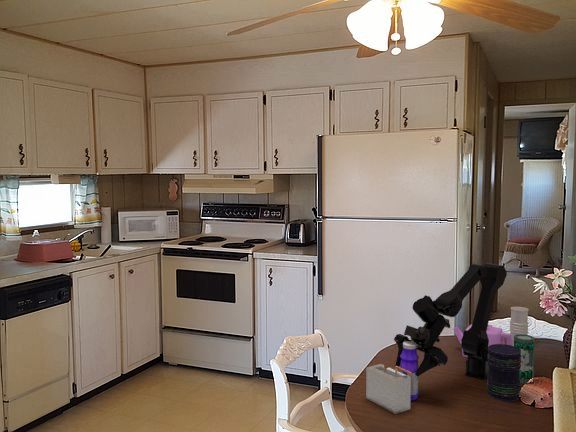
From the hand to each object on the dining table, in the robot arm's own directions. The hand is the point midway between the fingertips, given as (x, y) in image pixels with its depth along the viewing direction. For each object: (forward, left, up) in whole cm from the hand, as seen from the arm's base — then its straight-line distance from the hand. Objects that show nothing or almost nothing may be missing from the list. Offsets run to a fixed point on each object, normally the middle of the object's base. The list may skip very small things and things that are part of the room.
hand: (406, 371), depth 169 cm
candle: (-15, -73, -9) cm, 75 cm away
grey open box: (+3, +7, -9) cm, 12 cm away
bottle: (0, -1, -9) cm, 9 cm away
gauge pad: (0, +4, -8) cm, 8 cm away
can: (-26, -36, -9) cm, 45 cm away
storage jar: (-24, -20, -9) cm, 33 cm away
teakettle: (-7, -52, -9) cm, 53 cm away
